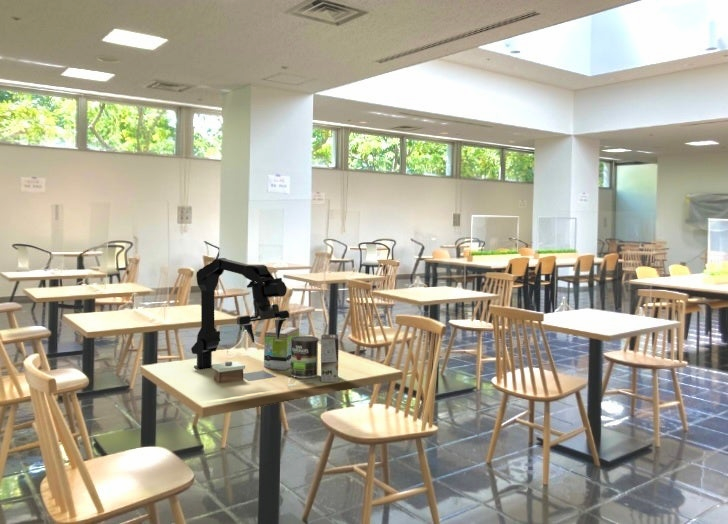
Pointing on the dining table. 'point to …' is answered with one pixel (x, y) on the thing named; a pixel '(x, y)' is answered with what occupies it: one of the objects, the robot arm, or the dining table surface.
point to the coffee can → (304, 356)
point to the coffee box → (329, 358)
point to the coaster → (257, 375)
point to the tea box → (279, 348)
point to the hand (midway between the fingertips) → (265, 340)
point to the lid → (228, 366)
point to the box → (228, 376)
